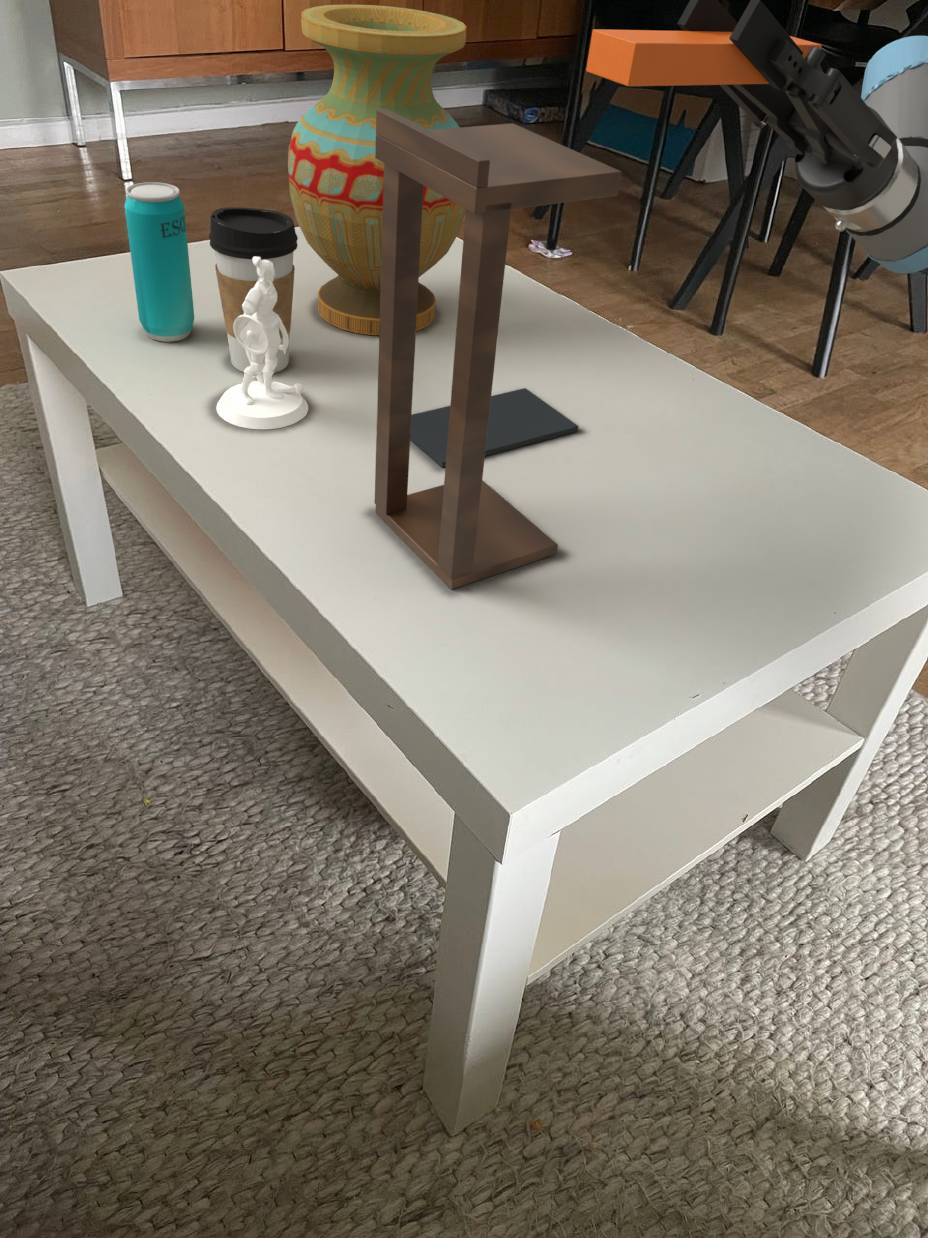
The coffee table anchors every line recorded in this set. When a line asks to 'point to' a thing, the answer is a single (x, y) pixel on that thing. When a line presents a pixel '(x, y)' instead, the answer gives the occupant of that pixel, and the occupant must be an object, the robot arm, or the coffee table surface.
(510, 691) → the coffee table surface
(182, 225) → the beverage can
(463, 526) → the walnut rack
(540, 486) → the coffee table surface
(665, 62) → the orange block
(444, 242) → the vase
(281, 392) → the figurine
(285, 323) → the coffee cup
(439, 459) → the rubber pad
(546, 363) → the coffee table surface
